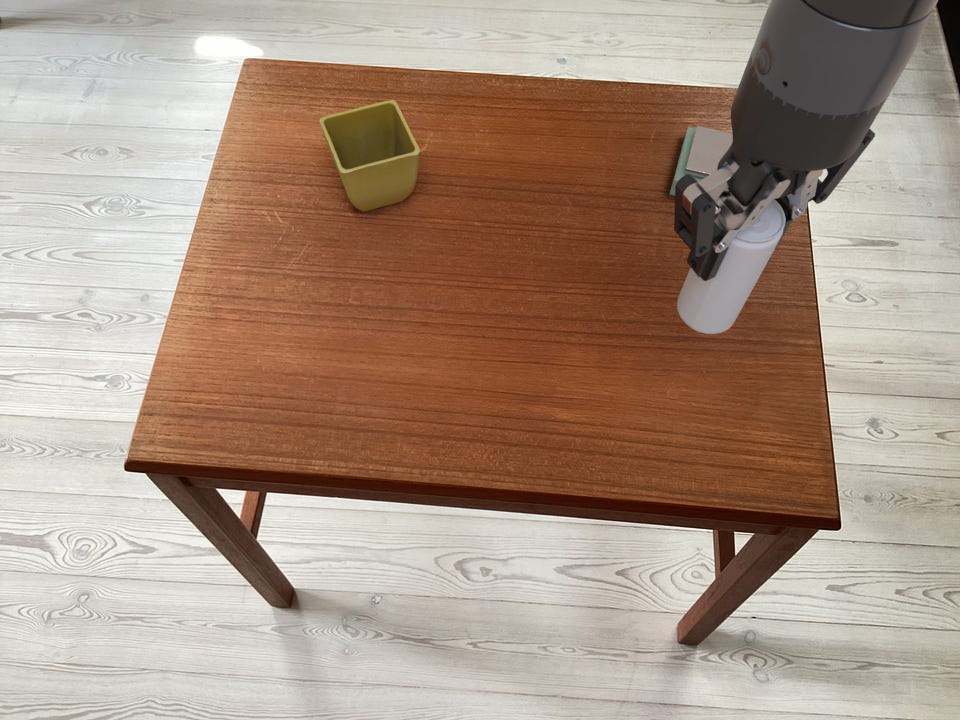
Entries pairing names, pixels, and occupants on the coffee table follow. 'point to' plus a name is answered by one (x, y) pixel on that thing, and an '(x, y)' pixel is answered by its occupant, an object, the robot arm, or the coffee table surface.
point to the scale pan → (707, 151)
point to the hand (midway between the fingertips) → (732, 256)
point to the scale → (684, 159)
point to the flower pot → (373, 154)
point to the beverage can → (731, 274)
